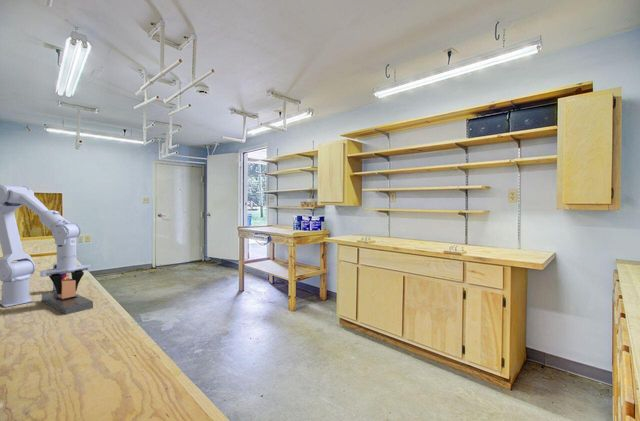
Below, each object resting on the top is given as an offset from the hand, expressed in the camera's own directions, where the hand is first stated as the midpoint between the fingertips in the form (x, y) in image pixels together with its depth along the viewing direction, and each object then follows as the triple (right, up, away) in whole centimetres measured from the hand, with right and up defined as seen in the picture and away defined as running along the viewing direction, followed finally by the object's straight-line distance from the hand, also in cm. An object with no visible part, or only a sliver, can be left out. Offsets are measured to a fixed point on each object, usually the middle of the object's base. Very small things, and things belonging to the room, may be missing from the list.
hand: (66, 292), depth 114 cm
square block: (0, -2, 0) cm, 2 cm away
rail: (0, -5, 0) cm, 5 cm away
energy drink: (-16, -4, +16) cm, 23 cm away
